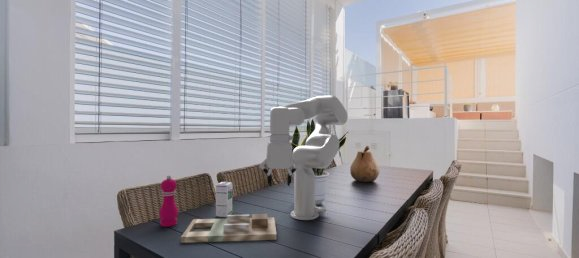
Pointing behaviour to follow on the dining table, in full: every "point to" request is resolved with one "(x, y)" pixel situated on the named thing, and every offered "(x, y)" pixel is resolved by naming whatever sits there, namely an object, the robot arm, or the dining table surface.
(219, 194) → the syrup box
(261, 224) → the walnut block
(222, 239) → the trap board
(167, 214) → the pepper mill
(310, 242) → the dining table surface
